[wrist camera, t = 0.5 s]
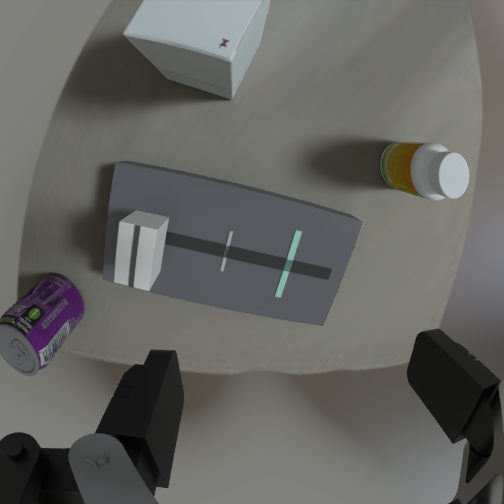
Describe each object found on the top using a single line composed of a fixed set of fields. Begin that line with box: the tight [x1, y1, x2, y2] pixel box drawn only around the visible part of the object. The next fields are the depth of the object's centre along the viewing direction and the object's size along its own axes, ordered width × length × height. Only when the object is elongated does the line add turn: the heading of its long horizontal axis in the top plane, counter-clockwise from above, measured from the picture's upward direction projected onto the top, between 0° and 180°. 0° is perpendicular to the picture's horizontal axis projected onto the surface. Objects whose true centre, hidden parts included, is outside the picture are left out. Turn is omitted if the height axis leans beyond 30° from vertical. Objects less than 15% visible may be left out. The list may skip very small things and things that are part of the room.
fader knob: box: [114, 210, 169, 291], centre depth 23 cm, size 5×3×6 cm, turn 165°
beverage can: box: [0, 275, 84, 376], centre depth 25 cm, size 7×7×12 cm
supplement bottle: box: [380, 142, 469, 200], centre depth 24 cm, size 5×5×10 cm
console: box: [103, 161, 362, 326], centre depth 29 cm, size 12×24×3 cm, turn 75°
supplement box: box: [123, 0, 270, 100], centre depth 18 cm, size 7×7×13 cm
